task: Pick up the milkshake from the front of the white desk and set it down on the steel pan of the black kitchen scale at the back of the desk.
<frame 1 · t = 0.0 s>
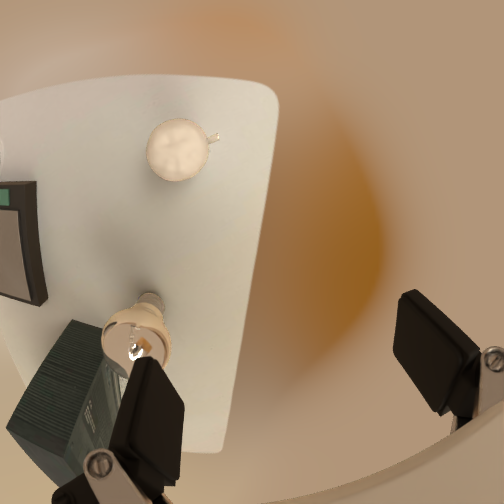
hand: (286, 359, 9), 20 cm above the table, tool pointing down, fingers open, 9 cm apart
scale: (11, 239, 26), on the table
cassette player: (102, 389, 36), on the table
light bulb: (154, 298, 31), on the table
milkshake: (195, 149, 25), on the table
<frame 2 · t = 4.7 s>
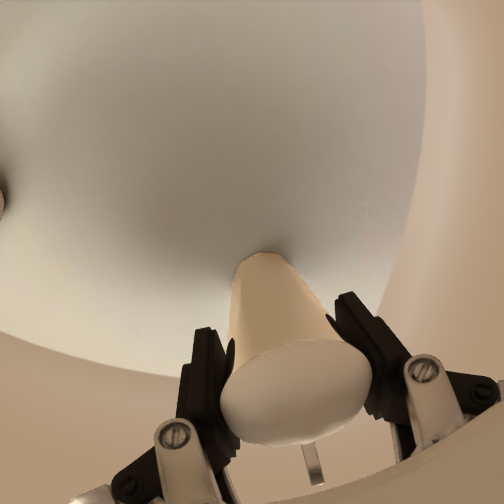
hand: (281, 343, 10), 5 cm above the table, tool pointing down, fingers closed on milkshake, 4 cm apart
light bulb: (1, 199, 11), on the table
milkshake: (264, 284, 15), on the table, touching gripper
when the fingers open (8 cm above the table, at t = 11.6 s): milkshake stays where it is, resting on scale.
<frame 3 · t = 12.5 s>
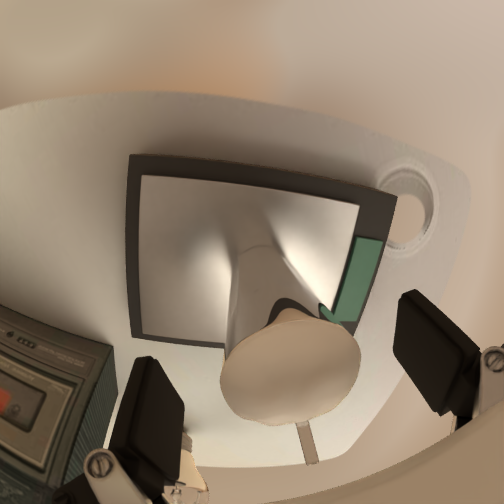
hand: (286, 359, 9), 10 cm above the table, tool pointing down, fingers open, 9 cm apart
scale: (254, 256, 18), on the table
cassette player: (5, 328, 19), on the table
light bulb: (178, 429, 25), on the table
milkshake: (262, 277, 16), point 3 cm above the table, touching scale
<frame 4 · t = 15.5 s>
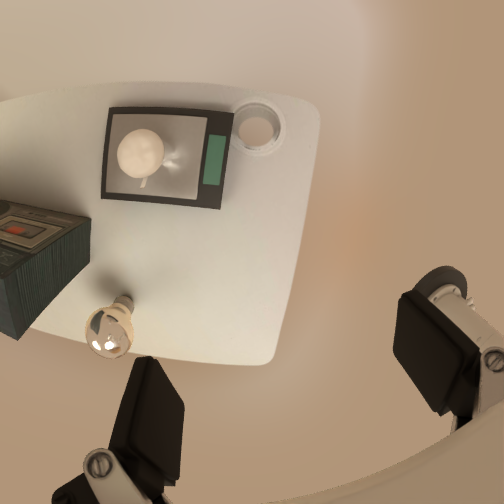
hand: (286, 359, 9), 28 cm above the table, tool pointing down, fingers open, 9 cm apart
scale: (165, 154, 32), on the table
cassette player: (24, 224, 33), on the table
light bulb: (127, 300, 39), on the table
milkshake: (161, 155, 29), point 3 cm above the table, touching scale
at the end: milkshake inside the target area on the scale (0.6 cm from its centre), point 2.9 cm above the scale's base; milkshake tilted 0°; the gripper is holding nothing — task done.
